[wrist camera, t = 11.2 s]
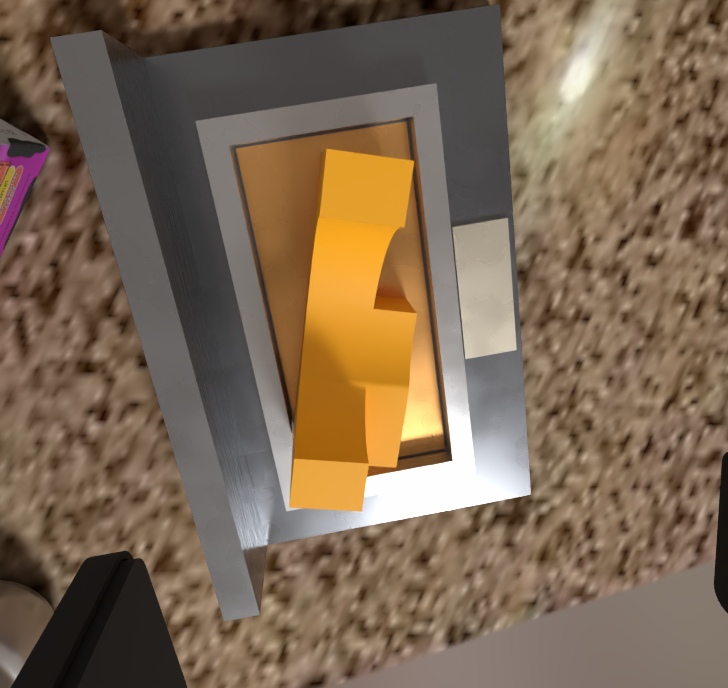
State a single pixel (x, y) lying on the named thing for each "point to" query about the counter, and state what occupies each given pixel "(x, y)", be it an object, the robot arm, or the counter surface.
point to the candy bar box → (16, 174)
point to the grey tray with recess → (293, 254)
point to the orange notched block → (351, 335)
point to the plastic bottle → (19, 627)
